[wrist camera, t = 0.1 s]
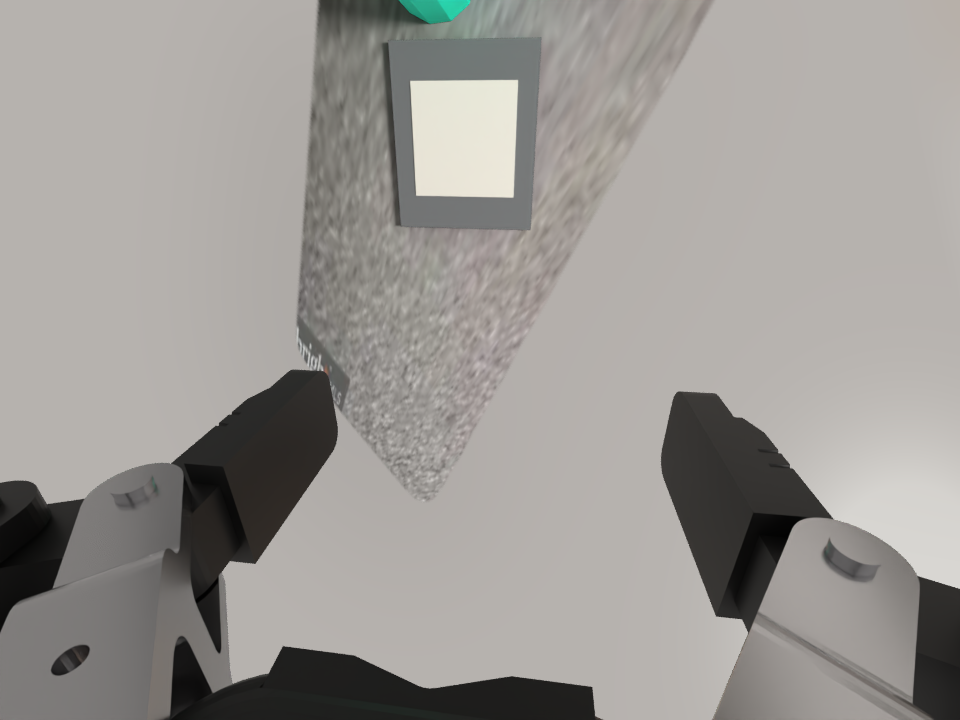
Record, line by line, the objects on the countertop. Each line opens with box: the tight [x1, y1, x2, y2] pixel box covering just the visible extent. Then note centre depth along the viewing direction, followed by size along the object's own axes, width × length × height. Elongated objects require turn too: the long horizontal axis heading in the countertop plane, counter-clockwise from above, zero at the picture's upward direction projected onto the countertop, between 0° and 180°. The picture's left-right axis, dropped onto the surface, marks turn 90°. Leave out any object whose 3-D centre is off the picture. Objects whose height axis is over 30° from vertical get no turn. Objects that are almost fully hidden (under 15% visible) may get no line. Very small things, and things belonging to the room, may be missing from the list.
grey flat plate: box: [388, 37, 541, 230], centre depth 34 cm, size 13×11×1 cm
